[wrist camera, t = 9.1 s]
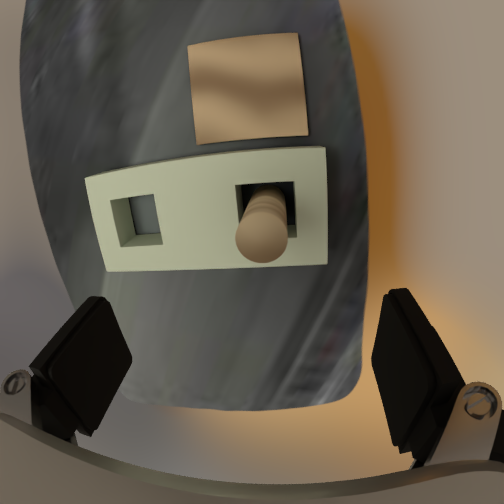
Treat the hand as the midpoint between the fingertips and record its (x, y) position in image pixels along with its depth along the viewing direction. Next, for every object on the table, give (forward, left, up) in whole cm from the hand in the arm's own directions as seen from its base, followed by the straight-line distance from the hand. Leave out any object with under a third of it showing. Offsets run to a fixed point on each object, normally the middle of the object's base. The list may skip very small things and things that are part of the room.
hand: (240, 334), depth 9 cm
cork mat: (-11, -1, -19) cm, 22 cm away
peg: (0, 0, -19) cm, 19 cm away
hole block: (0, -6, -19) cm, 20 cm away
